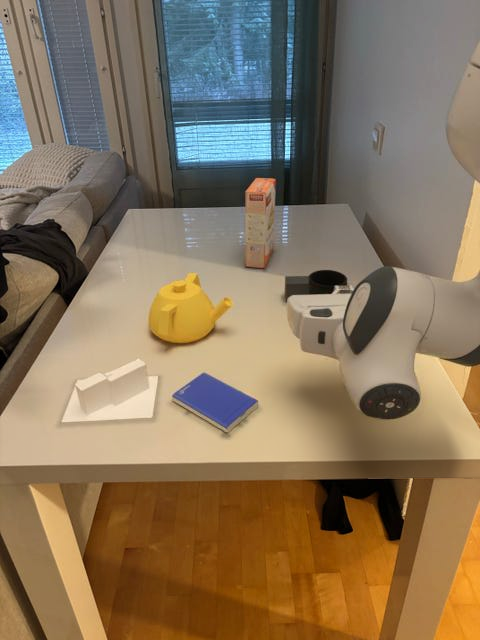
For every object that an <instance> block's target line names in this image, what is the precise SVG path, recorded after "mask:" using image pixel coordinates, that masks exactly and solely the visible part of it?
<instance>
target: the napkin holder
mask: <svg viewBox="0 0 480 640" xmlns="http://www.w3.org/2000/svg"><path fill="white" fill-rule="evenodd" d="M158 383H159V375H150V376H149V375H148V368H147V364H146V363H145V362H144V361H143V360H141V359H140V358H137V359H134V360H132V361H130V362H129V363H127V364H124V365H122V366H120V367H118V368H115V369H114V370H111V371H108V372H105V373H104V374H103V373H102V372H101V371H100V372H98V373H96V374H93V375H92V376H88V377H87V378H85V379H76V383H74V388H73V390H72V393H71V396H70V398H69V401H68V403H67V406H66V409H65V411H64V414H63V417H62V419H61V423H76V422H77V423H78V422H95V421H97V422H98V421H112V420H113V421H114V420H116V421H117V420H134V419H151V418H153V415H154V409H155V402H156V396H157V395H156V394H157V388H158Z"/></svg>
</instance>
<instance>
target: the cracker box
mask: <svg viewBox="0 0 480 640" xmlns="http://www.w3.org/2000/svg"><path fill="white" fill-rule="evenodd" d="M276 184H277V179H276V178H270V177H269V178H267V177H265V178H264V177H255V179H254V180H253V181H252V183H251V184H250V185H249V186H248V188H247V189H246V190H245V197H244V198H245V203H244V205H245V208H244V209H245V214H244V215H245V217H244V219H245V221H244V222H245V223H244V224H245V229H244V230H245V234H244V235H245V238H244V240H245V242H244V244H245V245H244V246H245V247H244V248H245V251H244V252H245V253H244V254H245V255H244V256H245V257H244V259H245V260H244V261H245V262H244V263H245V268H252V269H253V268H254V269H266V267H267V265H268V263H269V260H270V258H271V256H272V253H273V251H274V238H275V214H276V213H275V211H276V210H275V209H276V186H277V185H276Z"/></svg>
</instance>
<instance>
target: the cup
mask: <svg viewBox="0 0 480 640" xmlns="http://www.w3.org/2000/svg"><path fill="white" fill-rule="evenodd" d="M308 276H309V295H317V294H332V293H333V292H334V287H335V286H345V285H346V284H347V283H348V277H347V276H346V275H345V274H344V273H342V272H340V271H337V270H333V269H319V270H316V271H313V272H311V273H310V274H309V275H308ZM347 285H348V284H347Z"/></svg>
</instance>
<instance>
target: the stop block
mask: <svg viewBox="0 0 480 640" xmlns="http://www.w3.org/2000/svg"><path fill="white" fill-rule="evenodd" d="M348 284H349V283H348V282H347V284H346V285H348ZM292 295H309V275H294V276H293V275H287V276H286V275H285V276H284V300H285V303H286V304H287V299H288V298H289V297H290V296H292Z"/></svg>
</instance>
